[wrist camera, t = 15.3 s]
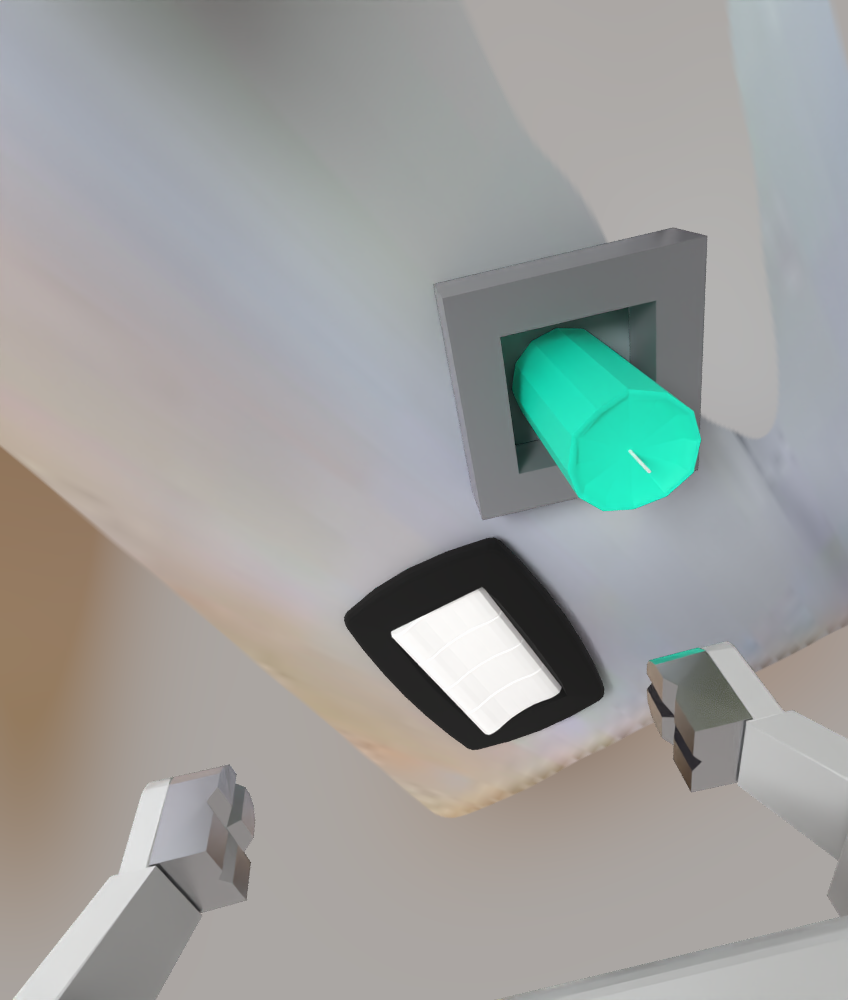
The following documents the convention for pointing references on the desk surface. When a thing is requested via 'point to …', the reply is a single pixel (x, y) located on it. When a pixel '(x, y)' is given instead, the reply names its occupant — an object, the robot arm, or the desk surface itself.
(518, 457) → the socket block
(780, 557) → the desk surface
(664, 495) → the candle
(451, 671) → the light switch
